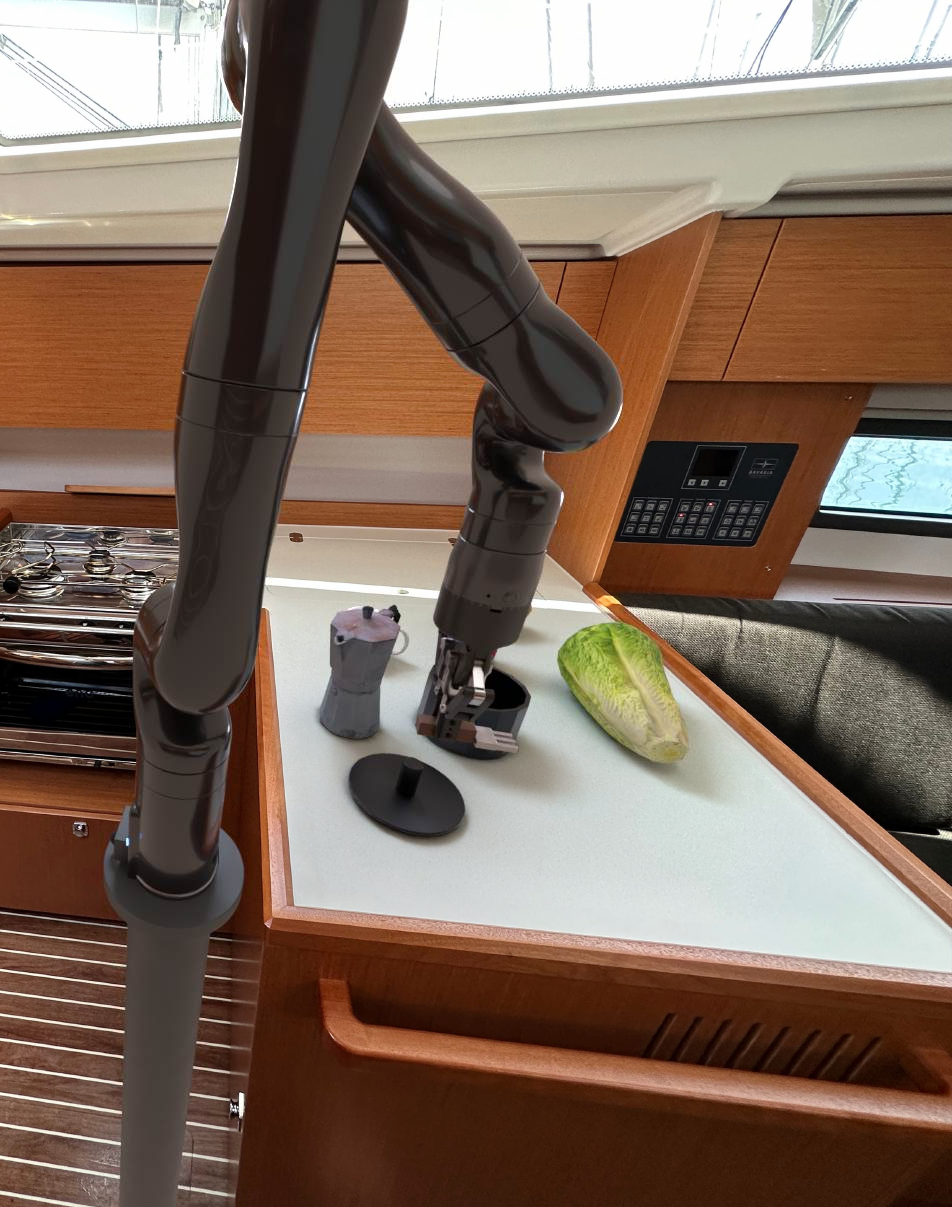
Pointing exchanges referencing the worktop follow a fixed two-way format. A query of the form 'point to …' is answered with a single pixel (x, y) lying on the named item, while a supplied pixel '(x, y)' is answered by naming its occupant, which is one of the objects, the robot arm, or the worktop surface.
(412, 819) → the pot lid
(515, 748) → the fork
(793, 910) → the worktop surface
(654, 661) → the lettuce
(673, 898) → the worktop surface
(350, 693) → the moka pot
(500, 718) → the pot
